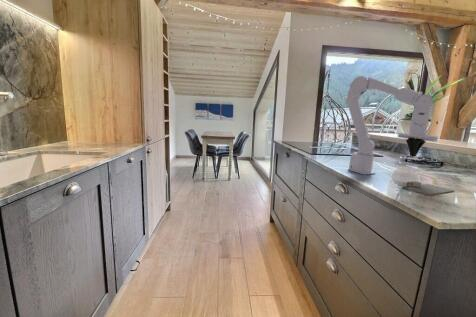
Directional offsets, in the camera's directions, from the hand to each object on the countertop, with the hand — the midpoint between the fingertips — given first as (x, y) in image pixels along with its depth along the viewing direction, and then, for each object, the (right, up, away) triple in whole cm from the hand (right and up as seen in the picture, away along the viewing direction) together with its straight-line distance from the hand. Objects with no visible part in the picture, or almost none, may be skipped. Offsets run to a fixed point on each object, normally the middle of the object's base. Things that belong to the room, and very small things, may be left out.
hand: (412, 156), depth 103 cm
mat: (-3, -13, -12) cm, 18 cm away
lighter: (-7, -11, -6) cm, 14 cm away
